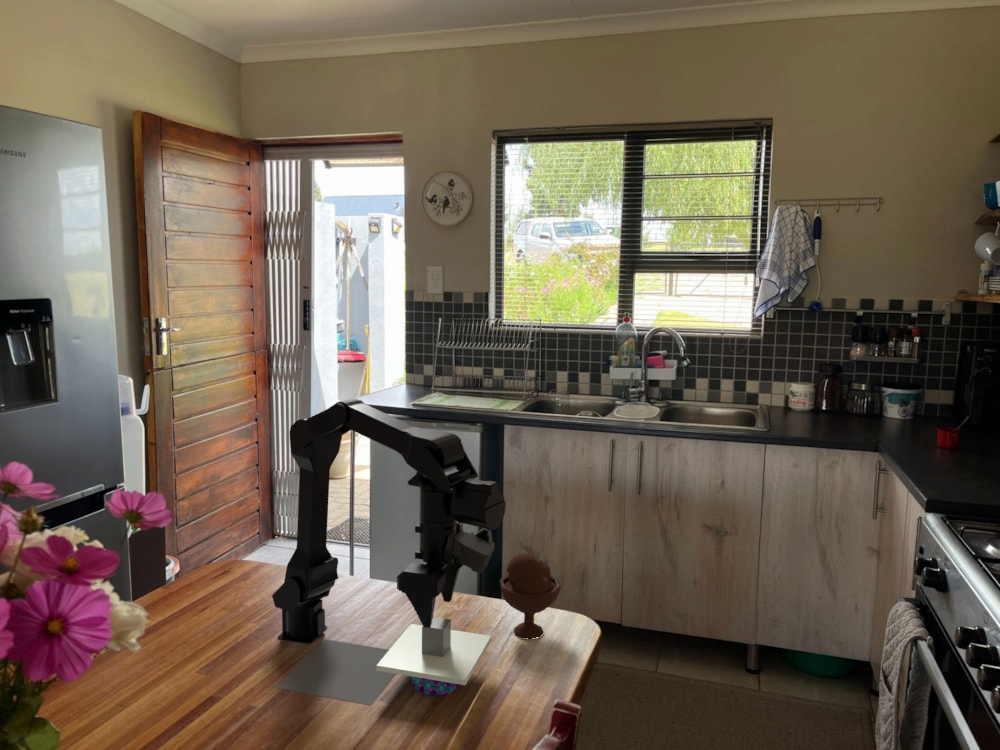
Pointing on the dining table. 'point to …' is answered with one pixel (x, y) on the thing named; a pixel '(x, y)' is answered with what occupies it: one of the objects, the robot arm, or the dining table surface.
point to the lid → (435, 653)
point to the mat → (340, 673)
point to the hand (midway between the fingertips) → (437, 613)
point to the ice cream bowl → (529, 591)
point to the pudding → (433, 686)
